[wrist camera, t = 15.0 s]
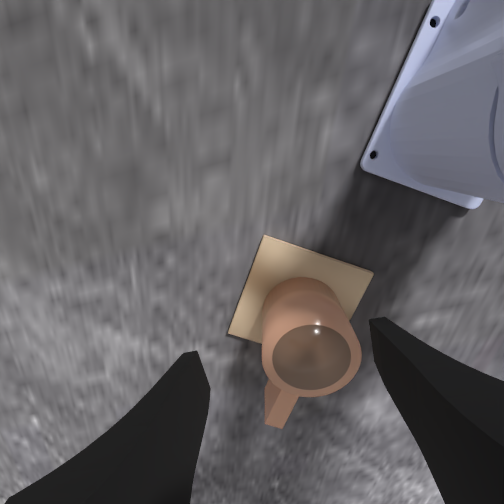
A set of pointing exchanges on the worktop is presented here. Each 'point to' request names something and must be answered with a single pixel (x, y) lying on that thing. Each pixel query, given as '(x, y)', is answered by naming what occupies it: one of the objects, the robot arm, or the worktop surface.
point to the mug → (304, 345)
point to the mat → (292, 266)
